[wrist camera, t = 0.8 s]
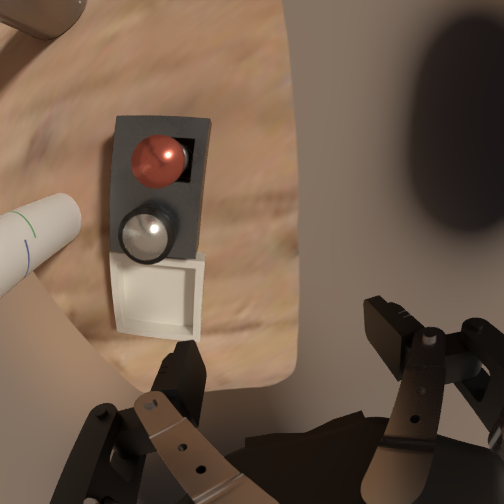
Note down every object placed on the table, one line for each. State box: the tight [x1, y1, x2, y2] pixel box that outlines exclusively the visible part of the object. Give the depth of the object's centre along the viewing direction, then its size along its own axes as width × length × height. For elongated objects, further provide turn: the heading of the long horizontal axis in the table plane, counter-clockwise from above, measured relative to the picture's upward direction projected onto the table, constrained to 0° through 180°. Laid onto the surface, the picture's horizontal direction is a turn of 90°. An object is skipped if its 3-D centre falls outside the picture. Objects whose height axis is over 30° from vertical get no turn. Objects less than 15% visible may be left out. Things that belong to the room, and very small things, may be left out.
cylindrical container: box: [0, 193, 81, 299], centre depth 19 cm, size 7×7×25 cm
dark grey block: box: [110, 116, 212, 265], centre depth 28 cm, size 10×15×8 cm, turn 172°
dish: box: [109, 251, 206, 342], centre depth 35 cm, size 12×12×3 cm
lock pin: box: [131, 135, 193, 189], centre depth 25 cm, size 4×4×11 cm
